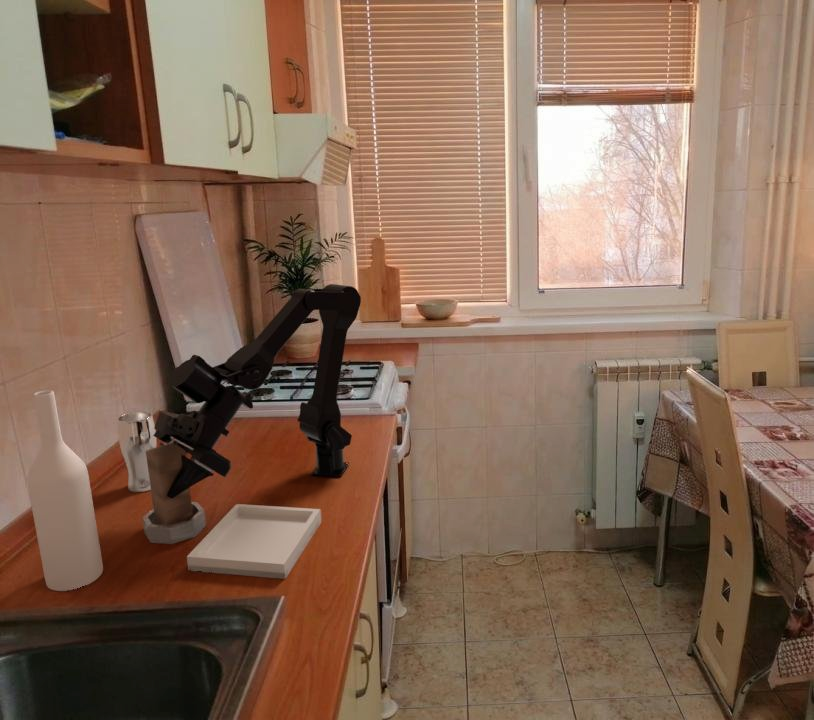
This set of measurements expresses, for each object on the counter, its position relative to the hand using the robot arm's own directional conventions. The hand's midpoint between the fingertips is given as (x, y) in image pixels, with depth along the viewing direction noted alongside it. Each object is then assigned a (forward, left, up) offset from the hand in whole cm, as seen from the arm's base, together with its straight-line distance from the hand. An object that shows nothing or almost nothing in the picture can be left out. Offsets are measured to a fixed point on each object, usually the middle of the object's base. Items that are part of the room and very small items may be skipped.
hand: (162, 492), depth 113 cm
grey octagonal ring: (-1, +1, -8) cm, 8 cm away
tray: (+2, +18, -8) cm, 19 cm away
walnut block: (-1, +1, -8) cm, 8 cm away
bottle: (+15, -7, -8) cm, 18 cm away
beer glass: (-17, -15, -8) cm, 24 cm away
